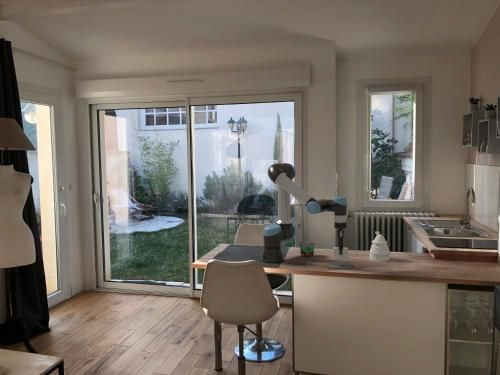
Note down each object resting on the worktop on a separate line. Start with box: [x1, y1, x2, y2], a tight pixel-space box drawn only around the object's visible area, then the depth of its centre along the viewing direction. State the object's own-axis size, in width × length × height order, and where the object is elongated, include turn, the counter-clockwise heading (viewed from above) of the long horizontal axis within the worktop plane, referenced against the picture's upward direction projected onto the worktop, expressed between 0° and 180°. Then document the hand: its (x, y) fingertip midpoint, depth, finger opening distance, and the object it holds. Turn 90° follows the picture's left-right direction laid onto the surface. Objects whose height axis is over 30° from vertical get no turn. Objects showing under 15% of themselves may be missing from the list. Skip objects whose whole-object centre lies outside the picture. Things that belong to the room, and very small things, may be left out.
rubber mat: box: [327, 262, 354, 270], centre depth 264 cm, size 15×13×1 cm
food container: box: [298, 240, 316, 258], centre depth 291 cm, size 12×6×10 cm, turn 112°
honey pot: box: [369, 231, 391, 262], centre depth 281 cm, size 13×13×18 cm
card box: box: [332, 246, 349, 261], centre depth 263 cm, size 5×9×7 cm, turn 81°
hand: (340, 258), depth 264 cm, fingers closed on card box, 5 cm apart
